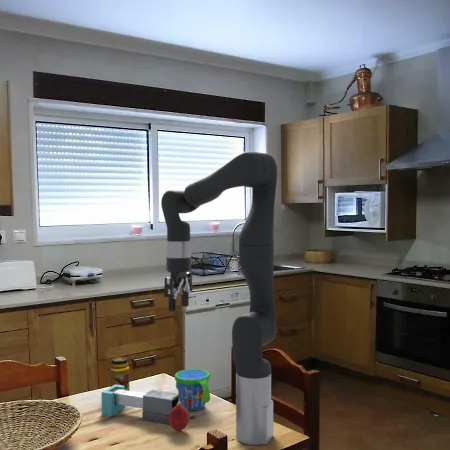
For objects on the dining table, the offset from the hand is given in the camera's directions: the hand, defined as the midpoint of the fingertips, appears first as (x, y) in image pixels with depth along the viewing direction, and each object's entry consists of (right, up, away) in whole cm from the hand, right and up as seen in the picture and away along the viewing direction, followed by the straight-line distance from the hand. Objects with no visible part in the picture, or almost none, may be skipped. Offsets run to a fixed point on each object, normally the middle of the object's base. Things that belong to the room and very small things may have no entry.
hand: (178, 308), depth 154 cm
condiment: (-21, -30, +10) cm, 38 cm away
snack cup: (+4, -30, 0) cm, 31 cm away
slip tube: (-13, -27, -5) cm, 31 cm away
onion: (+2, -31, -17) cm, 35 cm away
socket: (-19, -30, -3) cm, 36 cm away
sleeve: (-4, -30, -9) cm, 32 cm away
